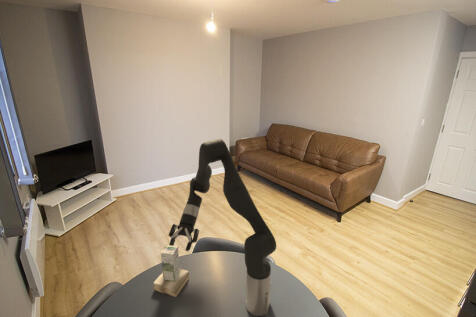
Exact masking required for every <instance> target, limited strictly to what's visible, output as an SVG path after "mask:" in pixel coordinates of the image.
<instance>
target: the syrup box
mask: <svg viewBox="0 0 476 317" xmlns="http://www.w3.org/2000/svg"><path fill="white" fill-rule="evenodd" d="M179 255H180V254H179V246H178V245H173V246H170V245H168V244H166V245H165V246H164V247H163V248H162V250H161V252H160V258H161V266H162V268H161V269H162V272H163V279H164V280H168V281H176V279H177V278H178V276H179V274H180V269H181V266H180V257H179Z"/></svg>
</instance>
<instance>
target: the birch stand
mask: <svg viewBox="0 0 476 317" xmlns="http://www.w3.org/2000/svg"><path fill="white" fill-rule="evenodd" d="M189 271H190V270H186V269H183V268H180V274H179V276H178V278H177V279H176V281H168V280H164V279H163V271H162V273H161V274H159V276H157V278H156V279H155V281H153V290H154V291H155V292H159V293H162V294H166V295H169V296H171V297H176V298H177V296H178V295H179V293H180V292H181V290H182V289H183V287H184V286H185V285H186V284H187V282H188V280H189V279H190V272H189Z"/></svg>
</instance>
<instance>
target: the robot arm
mask: <svg viewBox="0 0 476 317" xmlns="http://www.w3.org/2000/svg"><path fill="white" fill-rule="evenodd" d="M219 161H221V163H222V166H223V169H224V176H223V184H222V192H223V195H224V197H225V199H226V201H227V203H228V206H229V207H230V208H231V209H232V210H233V211H234V212H235V213H236V214H238V215H239V216H241V217H242V218H244V219H245V220H246V221H247V223H249V225H250V226H251V229H253V231H254V233H253V234H251V235H249V236H248V237H246V238H245V241H244V248H243V250H244V263H245V268H246V297H245V298H246V300H245V304H246V306H245V307H246V310H247V311H248V312H249V314H250V315H253V316H255V317H262V316H268V313H269V309H270V305H271V291H272V284H271V272H272V271H271V270H272V268H271V263H270V262H269V261H268V260H267V259H265V258H267V257H269V256H270V255H271V254H273V253H274V252H275V251H276V249H277V242H276V239H275V237H274V234H273V232H272V231H271V229H270V227H269V226H268V224H267V223H266V222H265V220H264V218H263V217H262V215H261V213H260V212H259V210H258V208H257V206H256V204H255V203H254V201H253V199H252V197H251V195H250V192H249V191H248V188H247V187H246V184H245V183H244V182H243V179H242V177H241V176H240V173H239V171H238V169H237V168H236V165H235V163H234V160H233V158H232V154H231V153H230V150H229V148H228V146H227V144H226V142H225V141H224V140H223V139H221V138H217V139H213V140H209V141H205V142H202V143H201V144H200V147H199V151H198V168H197V172H196V175H195V176H194V177H192V179H191V180H190V181H189V182H190V183H189V194H188V198H187V202H186V204H185V206H184V208H183V211H182V214H181V217H180V220H179V224H178V225H177V224H175V223H173V224H172V225H171V227H170V230H169V232H168V236H169V237H170V240H169V243H168V244H169V245H170V246H175V243H176V239H178V237H180V236H182V237H186V238H187V239H188V240H187V244H186V247H185V251H186V252H189V251H190V250H191V249H192V244H193V243H197V241H198V238H199V235H200V230H199V229H198V228H195V225H196V222H197V220H198V216H199V211H200V208H201V205H202V201H203V197H201V196H200V195H198V194H197V193H200V194H201V193H202V194H206V193H208V192H209V190H210V186H211V183H210V179H211V178H212V176H213V175H212V173H213V170H212V167H211V166H210V164H212V163H213V164H214V163H216V162H219ZM196 192H197V193H196ZM192 233H193V235H192Z"/></svg>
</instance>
